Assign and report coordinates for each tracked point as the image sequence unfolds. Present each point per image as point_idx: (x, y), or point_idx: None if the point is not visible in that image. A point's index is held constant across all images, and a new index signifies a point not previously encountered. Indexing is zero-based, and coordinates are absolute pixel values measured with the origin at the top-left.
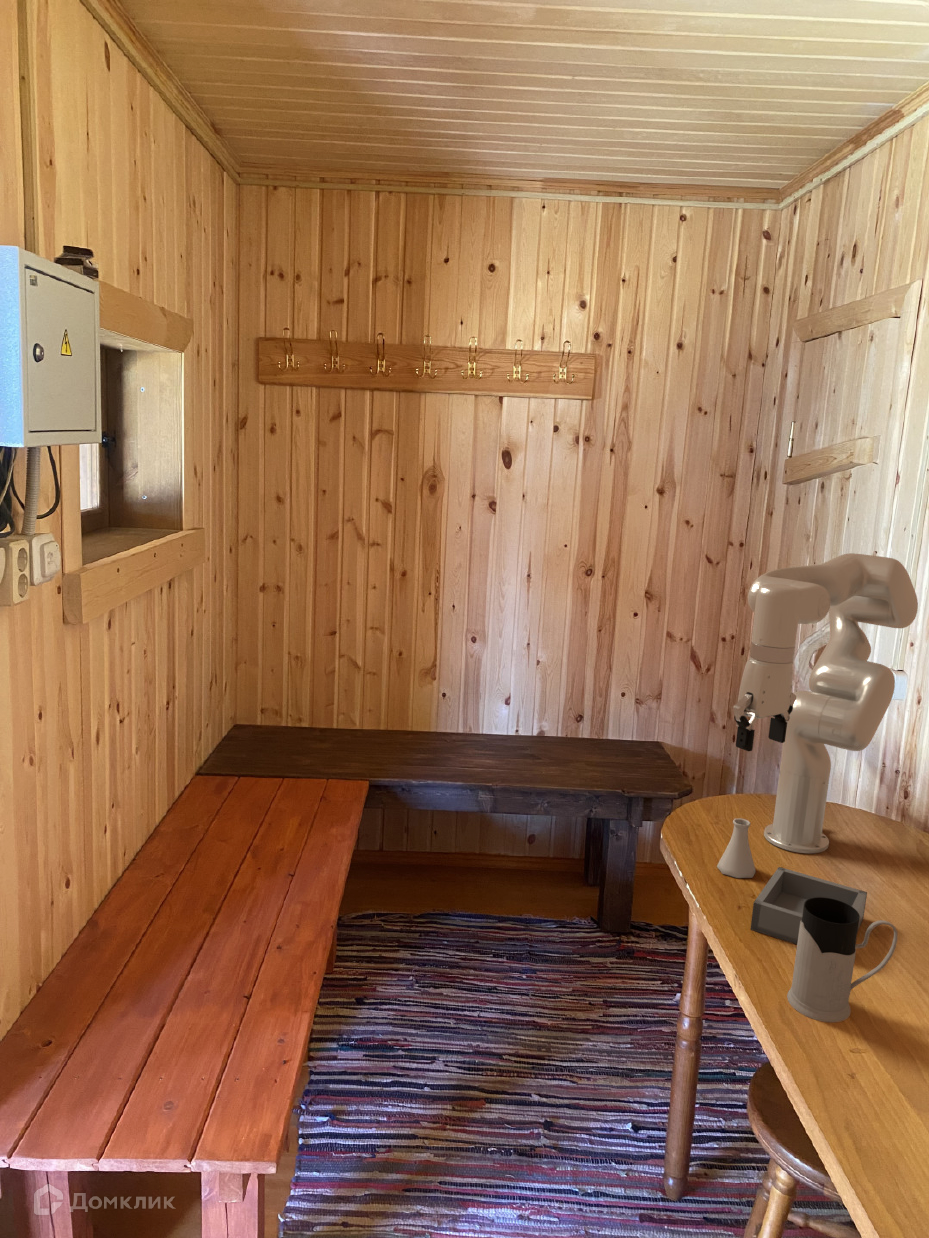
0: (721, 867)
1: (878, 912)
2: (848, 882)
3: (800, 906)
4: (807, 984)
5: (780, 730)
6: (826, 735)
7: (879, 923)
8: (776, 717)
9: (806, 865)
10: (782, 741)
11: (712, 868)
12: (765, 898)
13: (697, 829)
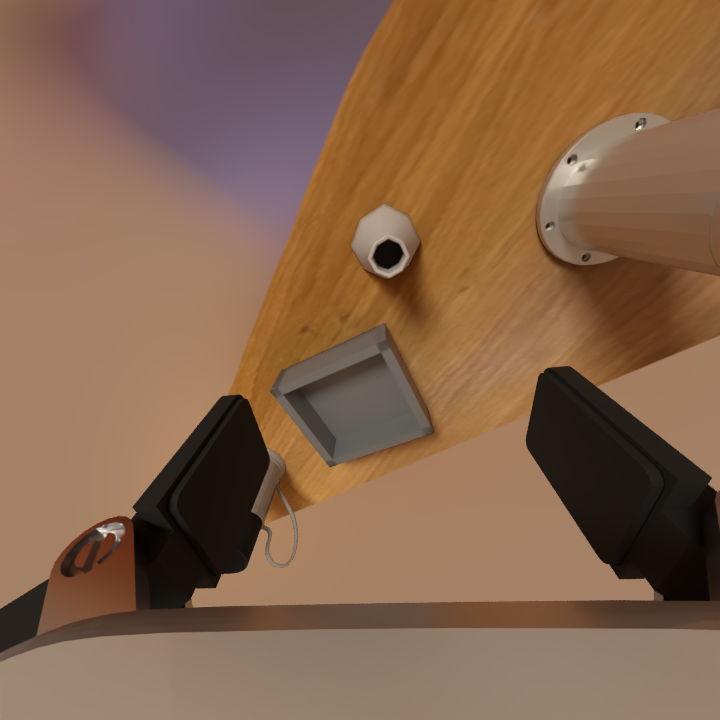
0: (355, 236)
1: (457, 408)
2: (505, 349)
3: (370, 373)
4: None
5: (569, 488)
6: None
7: (270, 564)
8: (673, 546)
9: (507, 284)
10: (532, 448)
11: (351, 218)
12: (293, 389)
13: (470, 18)
